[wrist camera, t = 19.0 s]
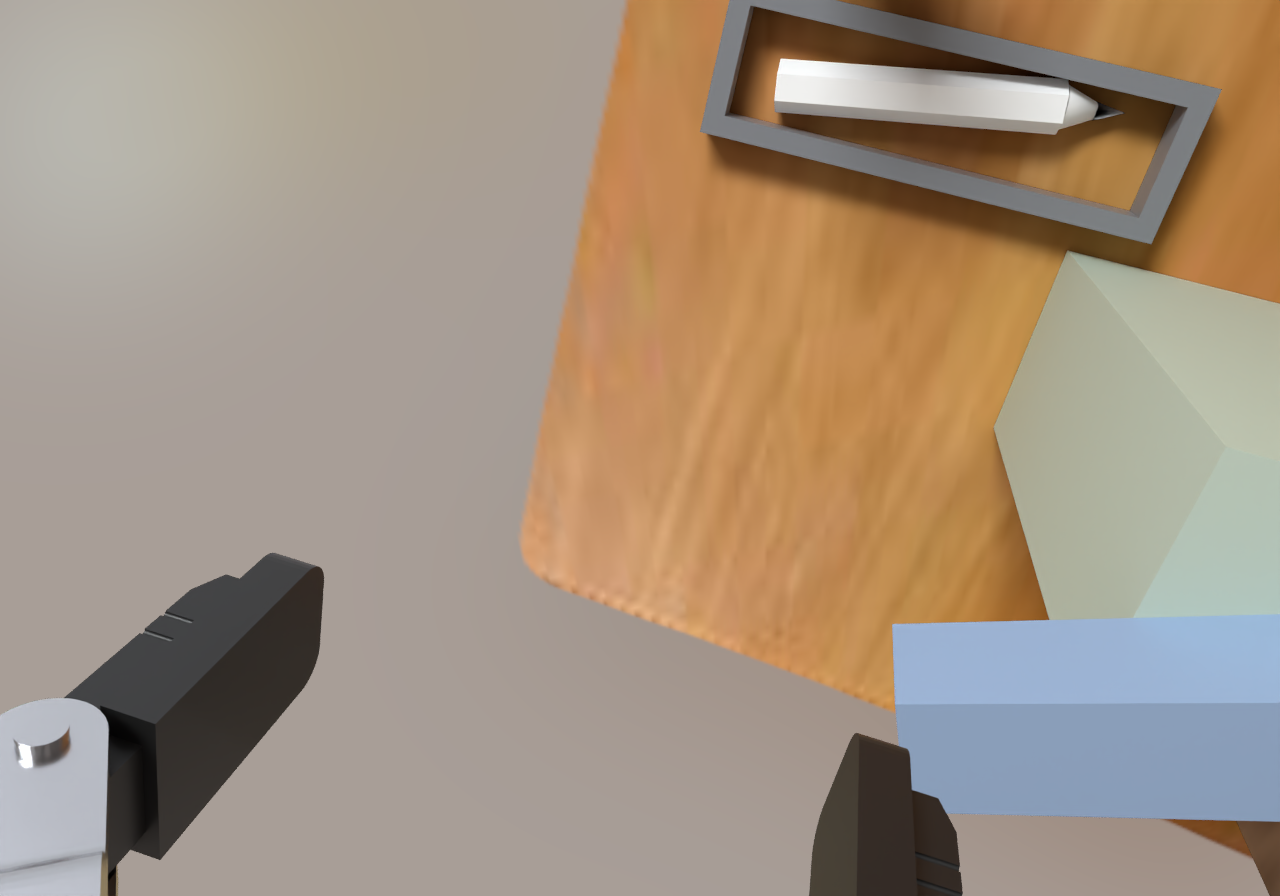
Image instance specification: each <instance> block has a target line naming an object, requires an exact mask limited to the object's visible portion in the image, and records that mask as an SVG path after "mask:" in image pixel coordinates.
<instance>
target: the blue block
mask: <svg viewBox="0 0 1280 896" xmlns="http://www.w3.org/2000/svg"><path fill="white" fill-rule="evenodd" d="M892 627H893V657H894V687H895V709H896V719H897V730H898V741H899V746H900V747H903V748H907V749H908V750H909V753H910V763H911V782H912V790H914V791H917V792H920V793H924V794H927V795H930V796H933V797H936V798H938V799H939V801H940V802H941V804H942V806H943V808H944V810H945V812H946V813H950V814H990V815H1030V816H1032V815H1033V816H1071V817H1072V816H1074V817H1111V818H1112V817H1113V818H1150V819H1151V818H1152V819H1191V820H1231V821H1271V822H1280V614H1268V615H1229V616H1190V617H1152V618H1113V619H1074V620H1035V621H996V622H957V623H918V624H892Z"/></svg>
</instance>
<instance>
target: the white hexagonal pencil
mask: <svg viewBox="0 0 1280 896" xmlns="http://www.w3.org/2000/svg"><path fill="white" fill-rule="evenodd" d="M774 103H775V112H782V113H794V114H806V115H819V116H831V117H843V118H856V119H868V120H880V121H893V122H905V123H917V124H930V125H942V126H954V127H967V128H979V129H991V130H1004V131H1016V132H1028V133H1041V134H1053V135H1056V133H1057V132H1058V130H1059V129H1063V128H1066V127H1069V126H1073V125H1076V124H1080V123H1083V122H1086V121H1090V120H1097V119H1101V118H1106V117H1110V116H1115V115H1119V114H1124V112H1121V111H1119V110H1116V109H1114V108H1111V107H1109V106H1106V105H1104V104H1101V103H1099V102H1096V101H1094V100H1093V99H1091V98H1090V97H1088V96H1086V95H1085V94H1083V93H1082V92H1080V91H1078V90H1077V89H1075V88H1073V87H1072V86H1070V85H1069V82H1068V79H1059V78H1045V77H1031V76H1017V75H1003V74H989V73H975V72H961V71H947V70H933V69H919V68H905V67H891V66H877V65H863V64H849V63H835V62H821V61H807V60H793V59H781V60H780V64H779V69H778V73H777V82H776V91H775V100H774Z"/></svg>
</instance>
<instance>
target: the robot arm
mask: <svg viewBox="0 0 1280 896" xmlns="http://www.w3.org/2000/svg"><path fill="white" fill-rule="evenodd" d="M323 587H324V574H323V571H322V569H321V568H320V567H318V566H315V565H311V564H308V563H305V562H302V561H299V560H295V559H292V558H289V557H286V556H283V555H279V554H276V553H270V554H268V555H266V556H265V557H264V558H262V559H261V560H260V561H259V562H258V563H257V564H256V565H255V566H254V567H252V568H251V569H250V570H249V571H248V572H247V573H246V574H245V575H244V576H242V577H241V578H240V579H238V578H235V577H232V576H229V575H224V576H222V577H219V578H217V579H214V580H212V581H210V582H207V583H205V584H203V585H200V586H198V587H196V588H193V589H191V590H190V591H189V592H188V593H186V594H185V595H184V596H183V597H182V598H180V599H179V600H178V601H177V602H176V603H175V604H174V605H172V606H171V607H170V608H169V609H168V610H166V612H165V615H164V616H159V617H158V618H157V619H156V620H155V621H154V622H152V623H151V624H150V625H149V626H148V627H147V628H145V631H144V633H143V634H138V635H137V636H136V637H135V638H134V639H132V640H131V641H130V642H129V643H128V644H127V645H125V646H124V647H123V648H122V649H121V650H120V651H118V652H117V653H116V654H115V655H114V656H113V657H111V658H110V659H109V660H108V661H107V662H106V663H104V664H103V665H102V666H101V667H100V668H99V669H97V670H96V671H95V672H94V673H93V674H92V675H90V676H89V677H88V678H87V679H86V680H84V681H83V682H82V683H81V684H80V685H79V686H78V687H76V688H75V689H74V690H73V691H72V692H70V693H69V694H68V695H67V696H66V697H65V698H50V699H43V700H37V701H32V702H29V703H25V704H22V705H20V706H17V707H15V708H12V709H10V710H8V711H6V712H4V713H3V714H1V715H0V896H118V869H117V864H118V863H119V862H120V861H121V860H122V858H123V857H124V856H125V855H126V854H127V853H128V852H129V850H133V851H136V852H139V853H142V854H145V855H147V856H150V857H153V858H156V859H159V860H161V858H162V857H163V856H164V855H165V854H166V852H167V851H168V850H169V849H170V848H171V846H172V845H173V844H174V843H175V842H176V840H177V839H178V838H179V837H180V836H181V834H182V833H183V832H184V831H185V830H186V828H187V827H188V826H189V824H191V822H192V821H193V820H194V819H195V818H196V816H197V815H198V814H199V813H200V811H201V810H202V809H203V808H204V807H205V806H206V804H207V803H208V802H209V801H210V800H211V798H212V797H213V796H214V795H215V794H216V792H217V791H218V790H219V789H220V788H221V786H222V785H223V784H224V783H225V782H226V780H227V779H228V778H229V777H230V776H231V775H232V773H233V772H234V771H235V770H236V769H237V767H238V766H239V765H240V764H241V763H242V761H243V760H244V759H245V758H246V757H247V755H248V754H249V753H250V752H251V750H252V749H253V748H254V747H255V746H256V745H257V743H258V742H259V741H260V740H261V739H262V737H263V736H264V735H265V734H266V733H267V731H268V730H269V729H270V728H271V726H272V725H273V724H274V723H275V722H276V721H277V719H278V718H279V717H280V716H281V715H282V713H283V712H284V711H285V710H286V708H287V707H288V706H289V705H290V704H291V703H292V701H293V700H294V699H295V698H296V697H297V695H298V694H299V693H300V692H301V691H302V689H303V688H304V686H305V685H306V683H307V682H308V680H309V678H310V676H311V674H312V672H313V669H314V667H315V664H316V661H317V657H318V654H319V647H320V633H321V618H322V617H321V616H322V603H323ZM959 866H960V863H959V854H958V845H957V834H956V831H955V829H954V827H953V825H952V823H951V821H950V819H949V817H948V816H947V814H946V812H945V810H944V808H943V806H942V804H941V802H940V801H939V799H938V798H936V797H933V796H930V795H927V794H924V793H920V792H917V791H914V790H912V782H911V763H910V753H909V750H908V749H907V748H903V747H900V746H897V745H894V744H890V743H887V742H884V741H881V740H877V739H875V738H871V737H868V736H865V735H861V734H859V733H855V734H854V735H853V737H852V739H851V741H850V743H849V745H848V748H847V750H846V753H845V755H844V757H843V760H842V762H841V765H840V767H839V770H838V772H837V775H836V777H835V780H834V782H833V784H832V787H831V789H830V792H829V794H828V797H827V799H826V802H825V804H824V806H823V809H822V812H821V815H820V818H819V822H818V826H817V830H816V834H815V839H814V845H813V852H812V865H811V879H810V893H809V896H962V893H963V892H962V883H961V873H960V872H959Z"/></svg>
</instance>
